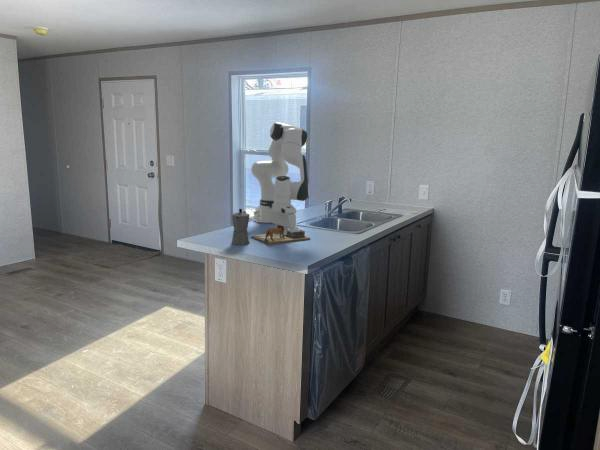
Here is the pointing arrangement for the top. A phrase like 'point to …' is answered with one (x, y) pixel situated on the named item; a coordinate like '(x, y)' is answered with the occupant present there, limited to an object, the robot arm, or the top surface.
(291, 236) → the wooden cutting board
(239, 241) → the coffeepot
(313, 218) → the top surface
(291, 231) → the dome
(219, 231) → the top surface
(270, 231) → the lion figurine
